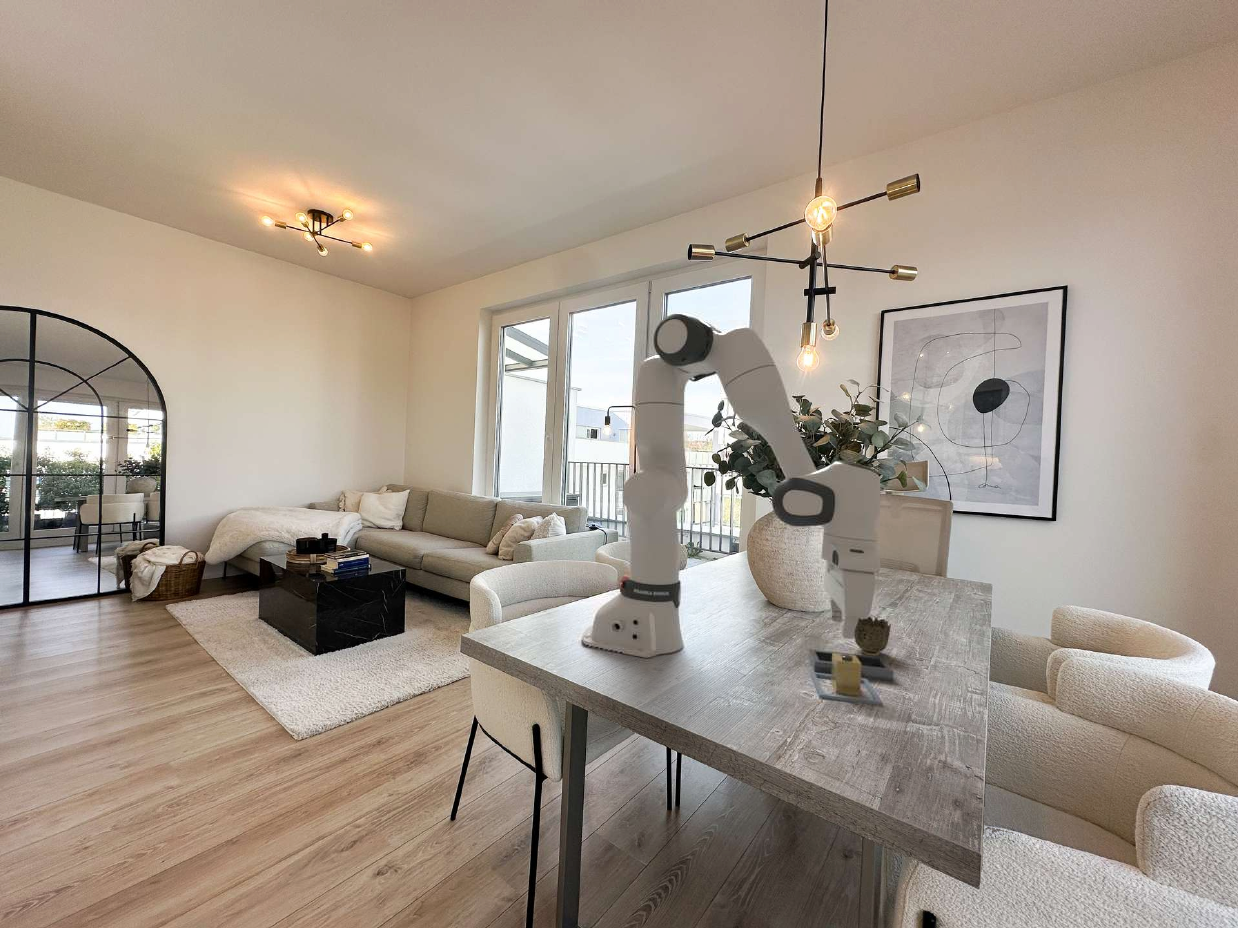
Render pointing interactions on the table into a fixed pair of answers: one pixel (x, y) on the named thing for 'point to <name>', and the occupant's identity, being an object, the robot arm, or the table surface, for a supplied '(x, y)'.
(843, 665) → the yellow upright block
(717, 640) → the table surface
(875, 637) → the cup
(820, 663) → the grey open box
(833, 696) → the blue-grey flat square frame
